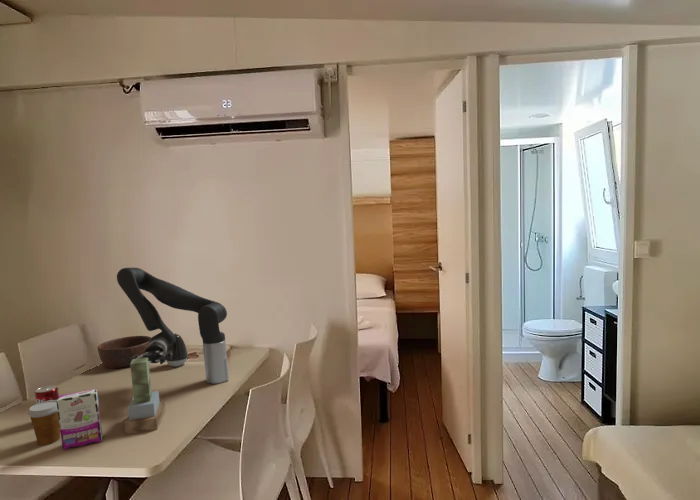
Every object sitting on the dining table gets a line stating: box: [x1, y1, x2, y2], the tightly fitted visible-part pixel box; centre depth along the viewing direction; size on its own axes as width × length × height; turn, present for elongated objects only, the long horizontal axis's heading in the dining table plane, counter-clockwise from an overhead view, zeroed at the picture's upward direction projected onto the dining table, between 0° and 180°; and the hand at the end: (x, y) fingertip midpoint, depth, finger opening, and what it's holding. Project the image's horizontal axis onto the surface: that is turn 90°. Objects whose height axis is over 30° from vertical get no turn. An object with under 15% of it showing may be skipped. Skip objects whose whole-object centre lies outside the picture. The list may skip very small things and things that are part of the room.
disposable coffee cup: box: [27, 400, 61, 446], centre depth 158 cm, size 10×10×12 cm
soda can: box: [34, 384, 60, 404], centre depth 174 cm, size 7×7×12 cm
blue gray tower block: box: [127, 390, 161, 420], centre depth 167 cm, size 8×12×4 cm, turn 14°
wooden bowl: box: [96, 335, 152, 369], centre depth 241 cm, size 25×25×10 cm
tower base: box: [124, 400, 167, 435], centre depth 168 cm, size 10×15×4 cm, turn 11°
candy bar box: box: [56, 388, 104, 451], centre depth 154 cm, size 11×5×16 cm, turn 114°
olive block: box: [129, 357, 153, 404], centre depth 166 cm, size 5×5×14 cm
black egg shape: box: [165, 333, 189, 368], centre depth 230 cm, size 10×10×15 cm
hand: (148, 363), depth 176 cm, fingers open, 8 cm apart
